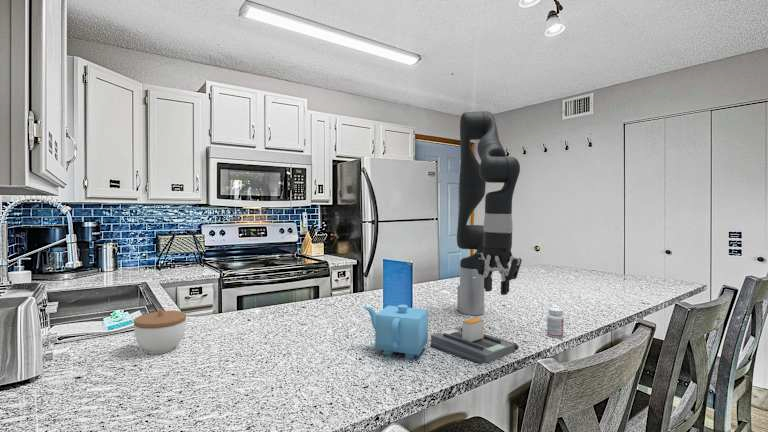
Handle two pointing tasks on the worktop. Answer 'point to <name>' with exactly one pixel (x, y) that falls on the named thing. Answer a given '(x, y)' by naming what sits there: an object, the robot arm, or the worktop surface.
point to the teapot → (400, 329)
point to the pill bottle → (555, 323)
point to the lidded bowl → (160, 330)
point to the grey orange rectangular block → (472, 329)
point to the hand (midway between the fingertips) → (496, 292)
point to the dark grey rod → (505, 341)
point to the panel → (473, 345)
